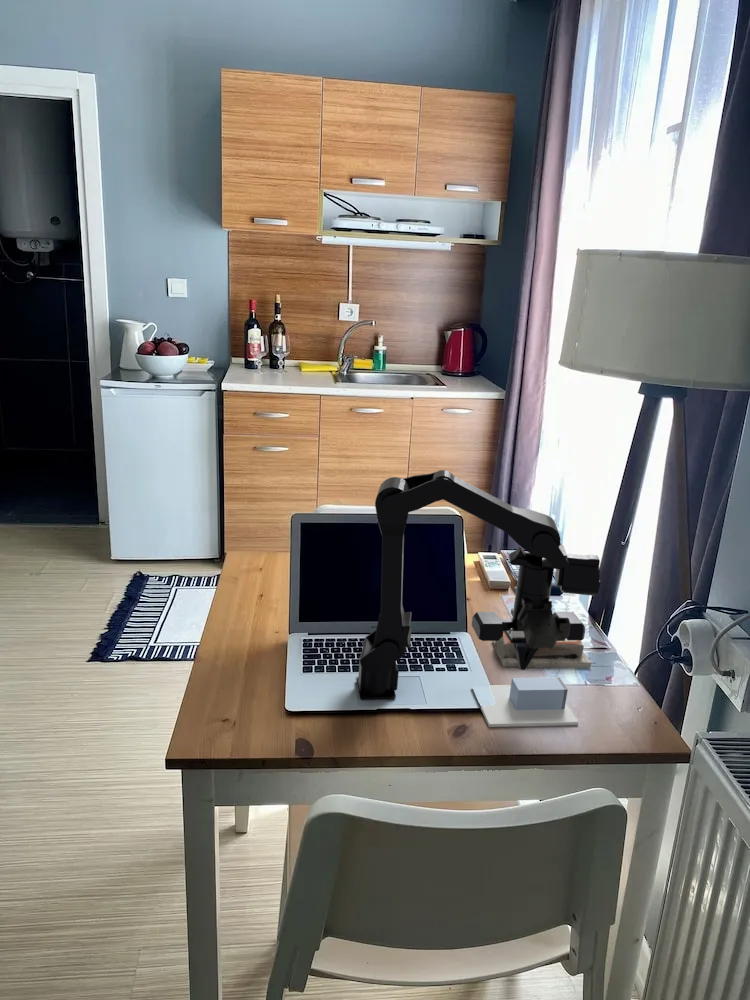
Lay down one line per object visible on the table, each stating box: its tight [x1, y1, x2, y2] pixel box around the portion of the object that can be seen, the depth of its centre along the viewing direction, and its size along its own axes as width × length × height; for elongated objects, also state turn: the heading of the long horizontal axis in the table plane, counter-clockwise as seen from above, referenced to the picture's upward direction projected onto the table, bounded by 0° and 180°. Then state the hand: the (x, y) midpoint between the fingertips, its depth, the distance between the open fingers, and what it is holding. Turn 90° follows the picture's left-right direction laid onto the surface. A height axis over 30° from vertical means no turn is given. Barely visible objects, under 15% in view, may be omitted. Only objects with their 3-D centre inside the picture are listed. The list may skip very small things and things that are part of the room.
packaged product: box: [491, 631, 592, 669], centre depth 155 cm, size 18×5×10 cm
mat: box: [480, 684, 579, 728], centre depth 137 cm, size 16×12×1 cm
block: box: [509, 676, 569, 710], centre depth 137 cm, size 4×4×9 cm
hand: (522, 668), depth 135 cm, fingers closed
